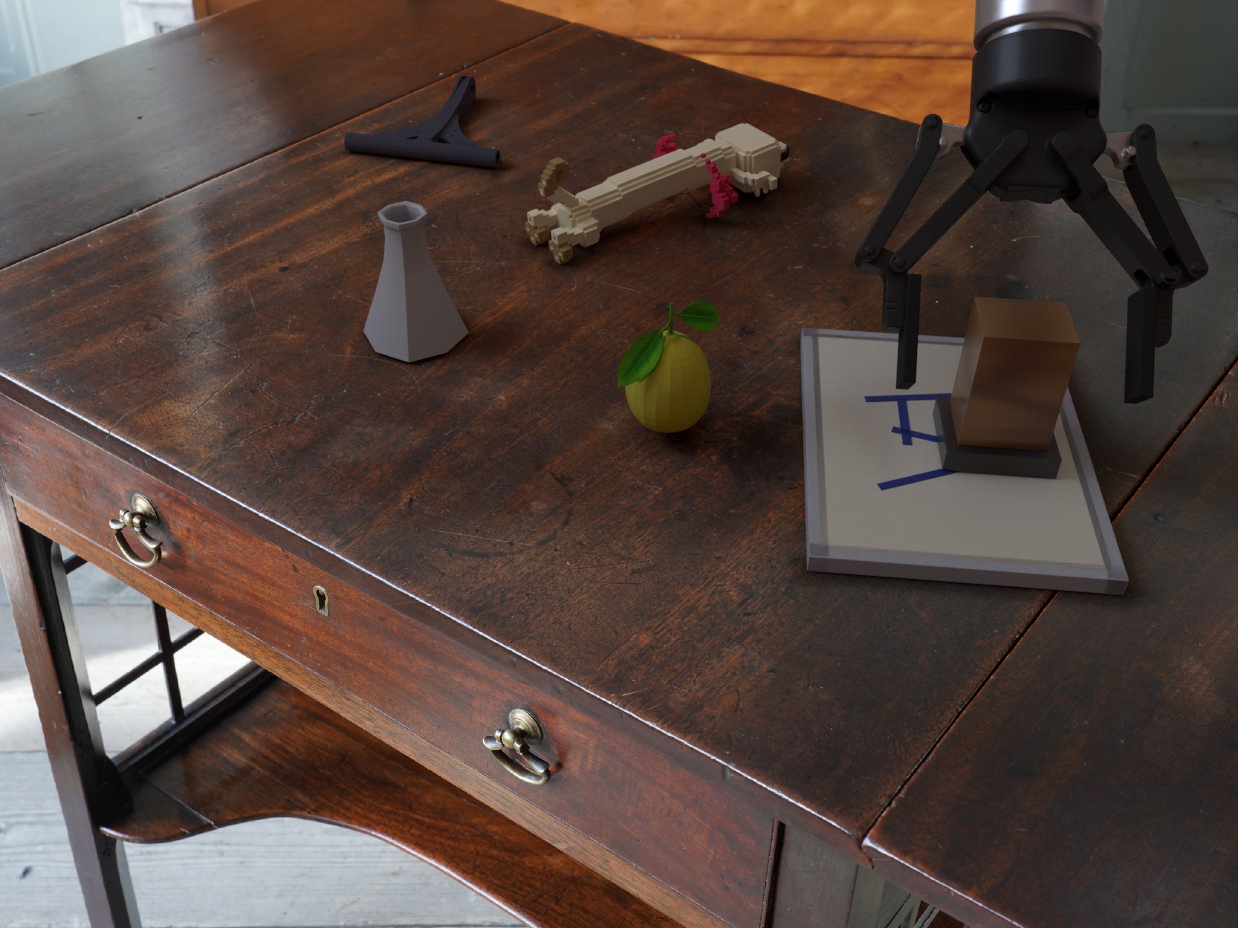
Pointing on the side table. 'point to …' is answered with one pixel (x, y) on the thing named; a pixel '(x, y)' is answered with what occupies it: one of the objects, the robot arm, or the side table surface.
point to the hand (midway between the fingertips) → (1021, 393)
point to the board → (935, 481)
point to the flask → (410, 293)
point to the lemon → (669, 372)
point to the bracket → (433, 135)
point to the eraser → (1008, 389)
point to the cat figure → (656, 185)
